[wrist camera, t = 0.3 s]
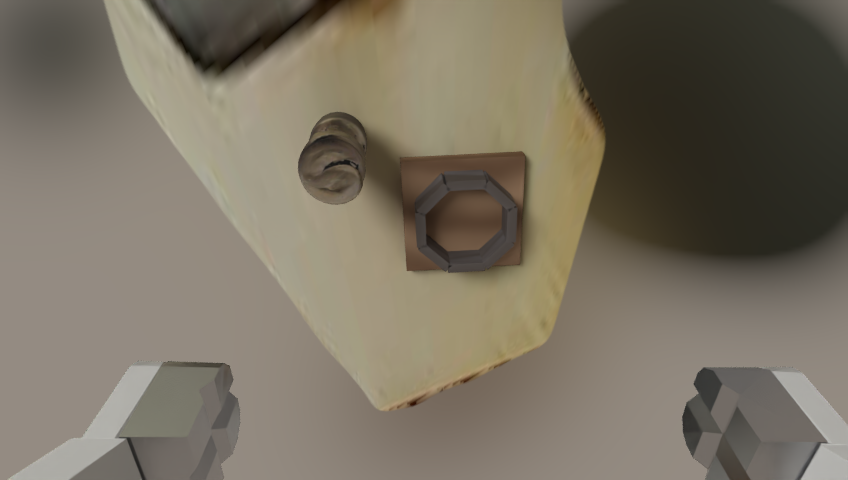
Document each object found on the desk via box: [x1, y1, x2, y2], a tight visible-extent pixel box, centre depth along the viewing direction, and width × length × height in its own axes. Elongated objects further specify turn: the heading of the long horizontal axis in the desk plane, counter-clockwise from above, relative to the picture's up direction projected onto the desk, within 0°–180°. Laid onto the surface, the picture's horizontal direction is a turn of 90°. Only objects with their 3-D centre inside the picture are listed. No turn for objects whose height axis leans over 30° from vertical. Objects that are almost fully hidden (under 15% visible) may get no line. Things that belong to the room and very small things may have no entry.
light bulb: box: [298, 112, 367, 205], centre depth 48 cm, size 6×6×15 cm
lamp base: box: [400, 152, 525, 273], centre depth 58 cm, size 13×13×4 cm
